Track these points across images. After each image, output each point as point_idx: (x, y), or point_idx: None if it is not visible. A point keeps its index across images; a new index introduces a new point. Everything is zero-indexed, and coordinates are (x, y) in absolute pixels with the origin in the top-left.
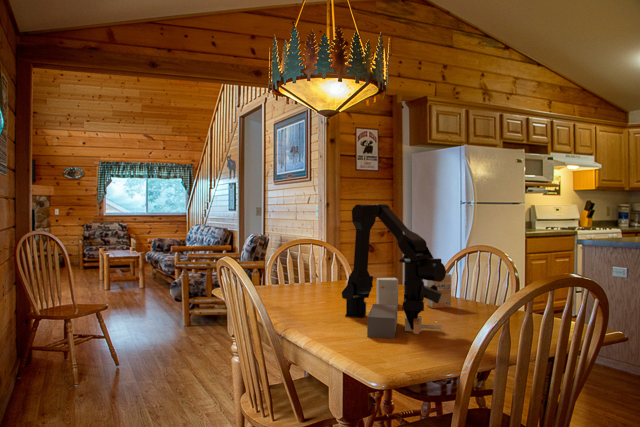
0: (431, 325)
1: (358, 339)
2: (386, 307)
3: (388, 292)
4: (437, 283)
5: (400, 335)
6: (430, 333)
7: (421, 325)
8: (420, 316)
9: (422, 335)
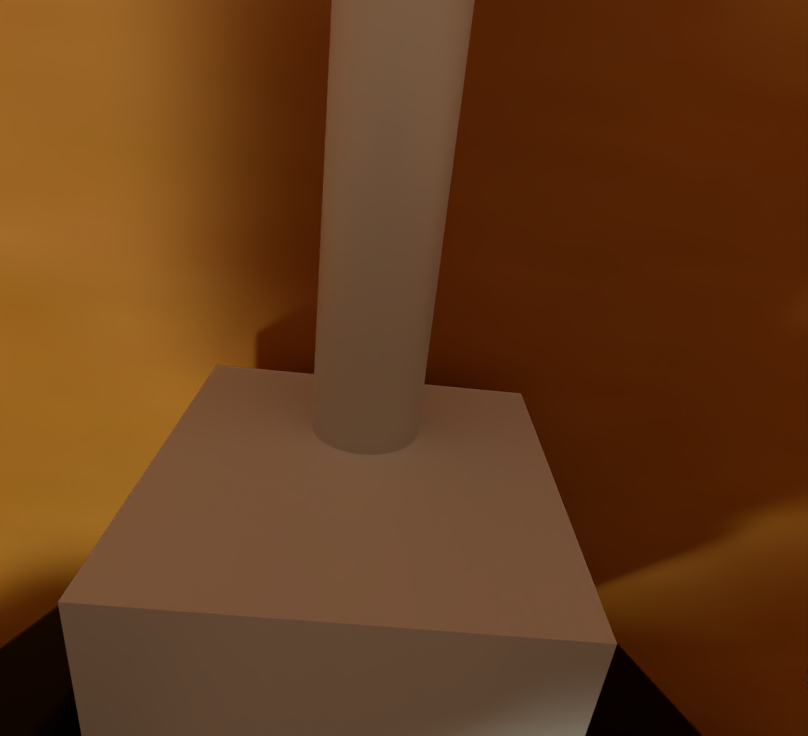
0: (430, 149)
1: None
2: None
3: None
4: None
5: None
6: (522, 172)
7: (404, 445)
8: (168, 639)
9: (697, 376)
